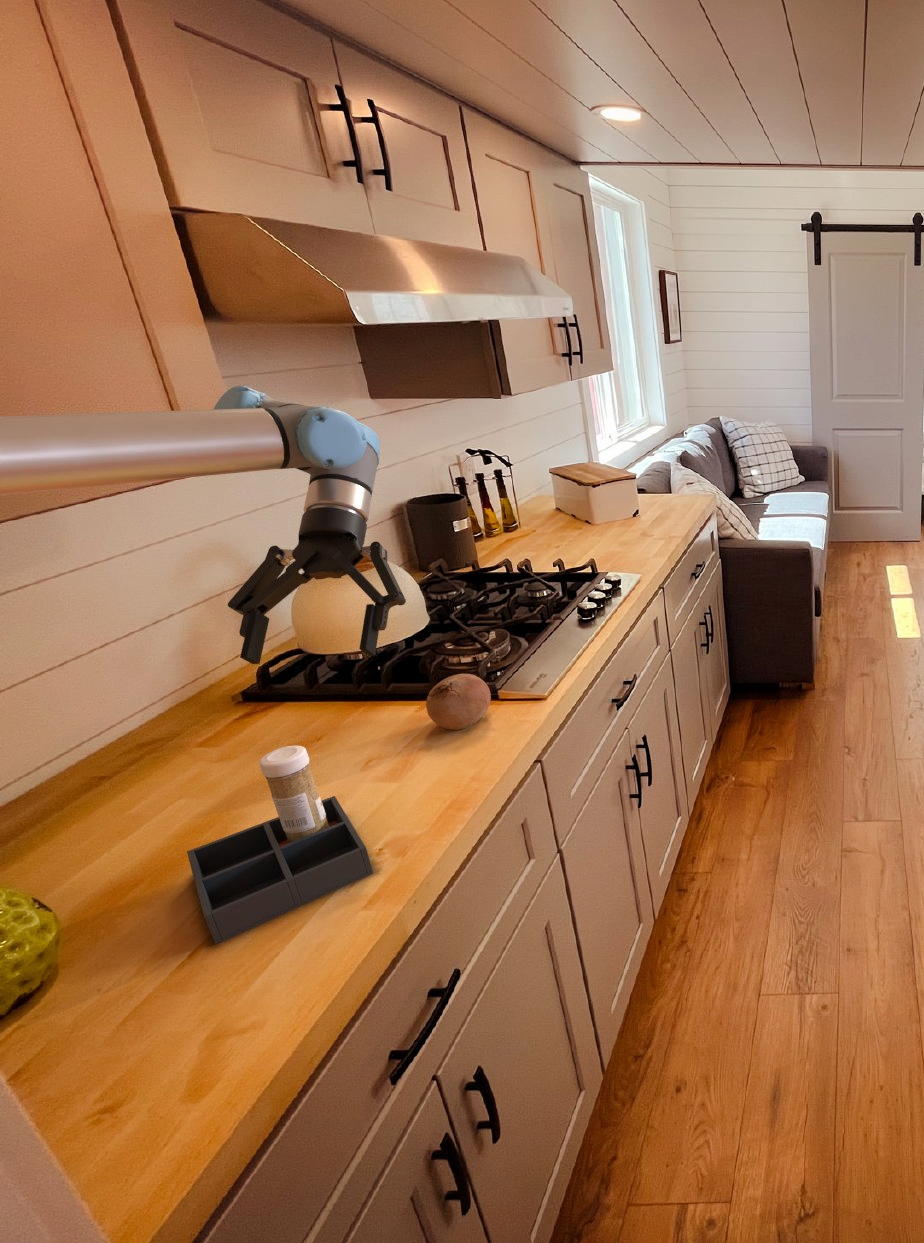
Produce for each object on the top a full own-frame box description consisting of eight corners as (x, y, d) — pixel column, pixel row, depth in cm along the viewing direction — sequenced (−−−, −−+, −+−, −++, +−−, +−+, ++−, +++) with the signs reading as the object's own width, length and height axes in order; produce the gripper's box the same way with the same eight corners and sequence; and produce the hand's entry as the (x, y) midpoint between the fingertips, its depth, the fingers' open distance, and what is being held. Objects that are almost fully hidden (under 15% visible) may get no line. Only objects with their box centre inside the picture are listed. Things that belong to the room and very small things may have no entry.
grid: (215, 945, 77) (204, 917, 76) (197, 877, 86) (186, 851, 85) (373, 873, 87) (366, 847, 86) (342, 819, 97) (334, 795, 95)
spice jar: (341, 831, 93) (314, 744, 89) (315, 855, 89) (285, 765, 84) (307, 831, 93) (278, 743, 89) (279, 855, 89) (248, 764, 84)
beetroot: (455, 751, 118) (421, 718, 110) (438, 716, 123) (405, 682, 116) (509, 717, 121) (480, 683, 114) (491, 685, 127) (462, 650, 119)
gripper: (441, 527, 108) (425, 658, 99) (251, 534, 103) (218, 673, 94) (421, 501, 101) (402, 639, 93) (217, 507, 96) (177, 654, 87)
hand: (309, 656), depth 93 cm, fingers open, 13 cm apart
